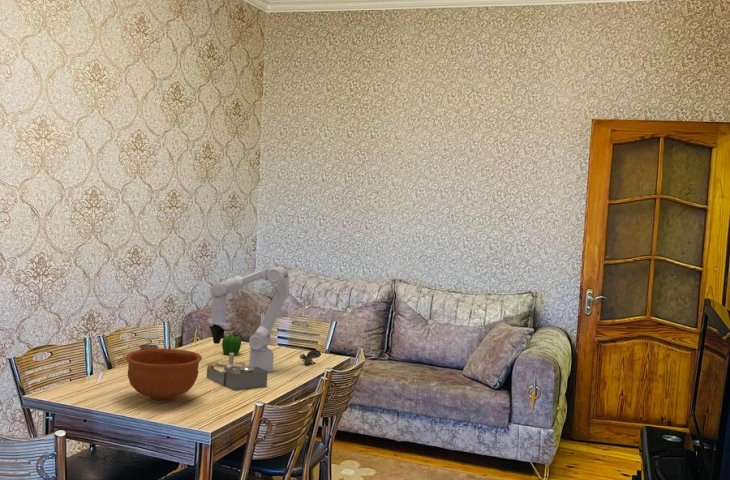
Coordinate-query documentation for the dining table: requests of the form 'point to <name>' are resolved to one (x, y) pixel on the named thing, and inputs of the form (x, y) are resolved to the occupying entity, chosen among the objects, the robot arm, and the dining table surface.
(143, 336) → the french press
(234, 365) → the pipe connector
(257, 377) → the motor mount
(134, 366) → the bowl
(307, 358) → the eagle figurine
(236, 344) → the bell pepper
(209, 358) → the dining table surface
